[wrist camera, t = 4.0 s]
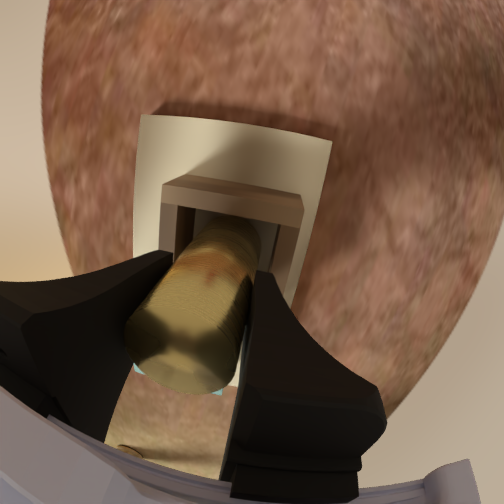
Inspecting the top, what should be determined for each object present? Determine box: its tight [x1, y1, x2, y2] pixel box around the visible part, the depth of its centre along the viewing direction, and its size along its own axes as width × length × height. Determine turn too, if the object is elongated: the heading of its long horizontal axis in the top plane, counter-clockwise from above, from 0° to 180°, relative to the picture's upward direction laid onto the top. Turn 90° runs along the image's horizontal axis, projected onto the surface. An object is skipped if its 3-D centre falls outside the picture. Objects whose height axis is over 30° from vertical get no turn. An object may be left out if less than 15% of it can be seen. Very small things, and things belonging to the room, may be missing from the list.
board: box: [133, 115, 333, 387], centre depth 17 cm, size 10×18×1 cm, turn 170°
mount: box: [158, 174, 305, 295], centre depth 14 cm, size 6×6×3 cm
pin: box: [123, 215, 261, 394], centre depth 11 cm, size 3×3×8 cm
